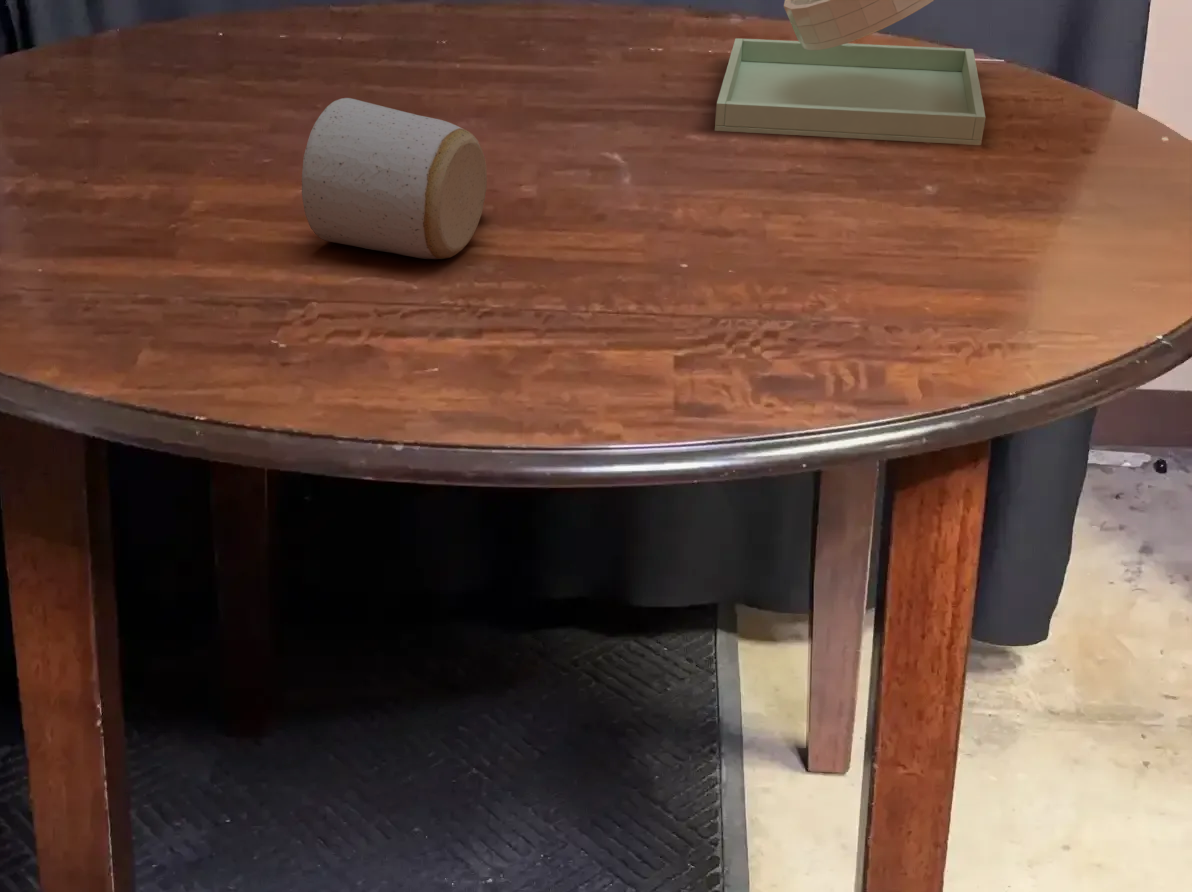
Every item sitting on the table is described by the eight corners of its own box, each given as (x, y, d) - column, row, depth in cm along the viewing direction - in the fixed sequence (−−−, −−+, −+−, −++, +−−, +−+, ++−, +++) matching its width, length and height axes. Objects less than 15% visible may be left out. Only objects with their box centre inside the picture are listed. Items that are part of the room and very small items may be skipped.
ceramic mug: (437, 283, 80) (433, 137, 76) (303, 260, 83) (291, 117, 78) (518, 220, 88) (518, 84, 84) (393, 200, 91) (387, 68, 86)
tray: (968, 77, 111) (973, 48, 109) (980, 148, 98) (985, 116, 97) (733, 65, 113) (735, 37, 112) (714, 133, 100) (716, 102, 99)
